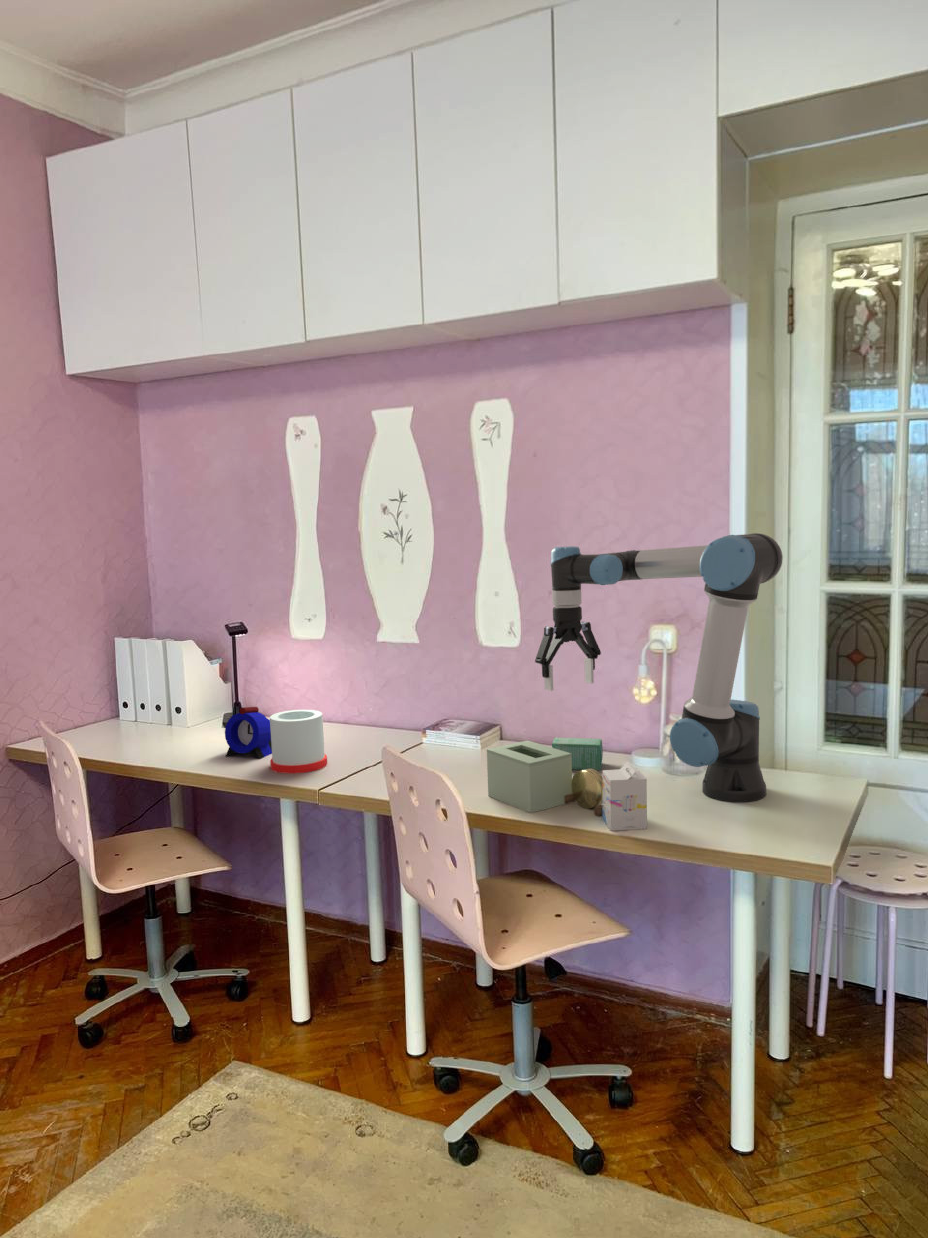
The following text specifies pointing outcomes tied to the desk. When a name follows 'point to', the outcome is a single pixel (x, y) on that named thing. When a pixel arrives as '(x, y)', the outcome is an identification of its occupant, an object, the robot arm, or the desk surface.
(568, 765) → the box
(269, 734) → the alarm clock
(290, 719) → the container
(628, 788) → the ink box
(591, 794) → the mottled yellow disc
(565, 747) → the box
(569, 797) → the cradle
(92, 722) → the desk surface
